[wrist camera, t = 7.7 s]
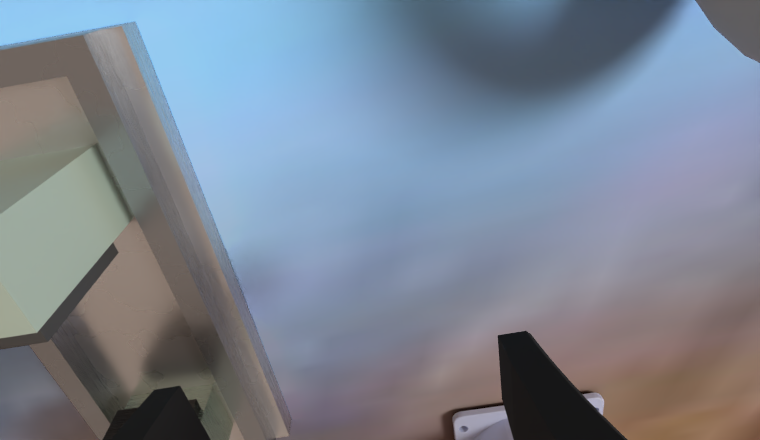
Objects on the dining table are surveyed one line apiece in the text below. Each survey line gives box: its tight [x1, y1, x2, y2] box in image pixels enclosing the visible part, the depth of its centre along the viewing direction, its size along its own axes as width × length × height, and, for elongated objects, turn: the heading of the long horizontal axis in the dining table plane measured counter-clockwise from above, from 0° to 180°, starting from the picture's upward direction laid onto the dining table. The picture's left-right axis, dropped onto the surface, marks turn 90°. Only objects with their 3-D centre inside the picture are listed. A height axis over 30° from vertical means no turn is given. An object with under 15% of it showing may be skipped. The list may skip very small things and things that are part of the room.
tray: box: [0, 22, 292, 440], centre depth 17 cm, size 20×9×7 cm, turn 9°
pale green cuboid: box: [0, 145, 132, 349], centre depth 14 cm, size 4×4×6 cm
